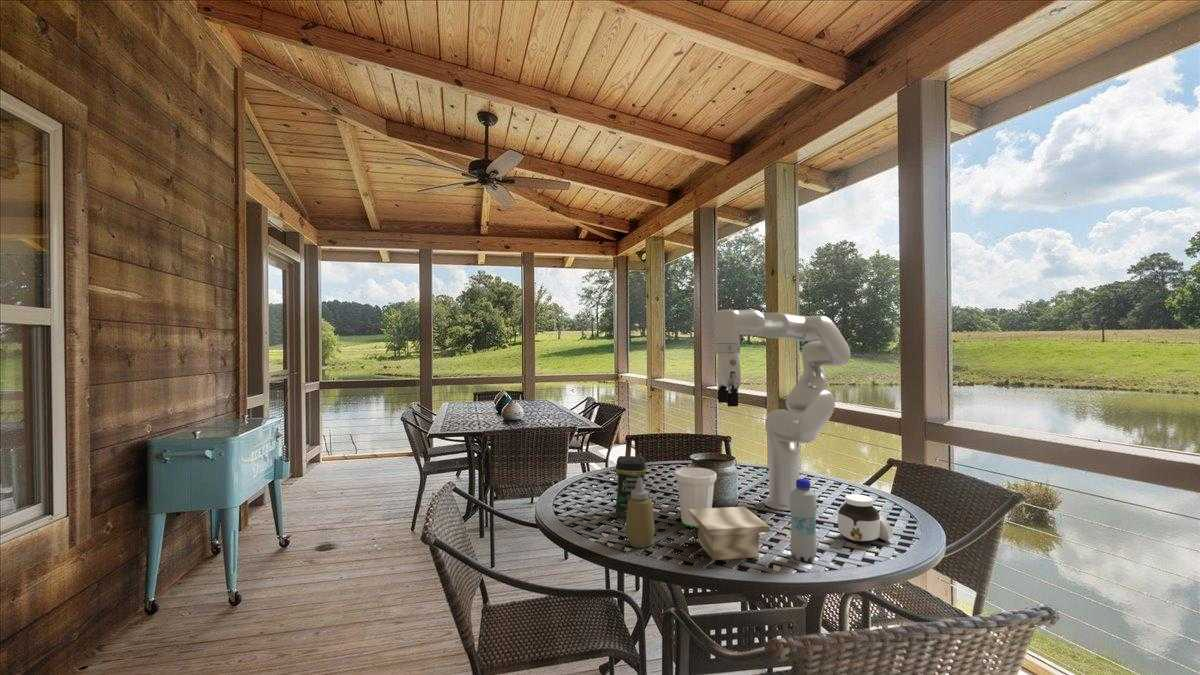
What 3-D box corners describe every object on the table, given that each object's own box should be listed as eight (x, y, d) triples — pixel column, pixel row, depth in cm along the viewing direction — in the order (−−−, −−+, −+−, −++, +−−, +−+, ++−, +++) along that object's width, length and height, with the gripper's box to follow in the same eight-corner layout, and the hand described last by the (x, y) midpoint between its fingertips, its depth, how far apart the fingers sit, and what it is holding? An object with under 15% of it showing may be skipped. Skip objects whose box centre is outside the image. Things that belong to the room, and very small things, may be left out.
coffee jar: (614, 518, 168) (613, 458, 168) (617, 510, 176) (616, 453, 176) (645, 520, 167) (645, 459, 167) (647, 511, 175) (646, 454, 175)
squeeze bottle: (625, 538, 152) (624, 474, 152) (654, 538, 151) (653, 474, 151) (625, 550, 144) (625, 482, 144) (656, 550, 143) (655, 482, 143)
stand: (744, 536, 152) (744, 506, 152) (769, 559, 137) (769, 526, 137) (689, 540, 150) (689, 509, 150) (708, 563, 134) (707, 529, 134)
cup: (723, 528, 159) (723, 476, 159) (682, 531, 157) (682, 478, 157) (708, 515, 171) (707, 466, 171) (670, 517, 169) (669, 468, 169)
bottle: (813, 552, 141) (812, 475, 141) (821, 563, 134) (820, 482, 134) (786, 552, 141) (785, 475, 141) (793, 562, 135) (792, 482, 135)
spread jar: (834, 538, 151) (833, 496, 151) (855, 529, 158) (855, 489, 158) (877, 551, 141) (877, 506, 141) (898, 541, 148) (897, 498, 148)
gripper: (749, 349, 161) (749, 407, 161) (730, 348, 178) (730, 401, 178) (724, 350, 160) (724, 408, 160) (708, 348, 177) (708, 401, 177)
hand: (727, 404), depth 169 cm, fingers open, 9 cm apart
